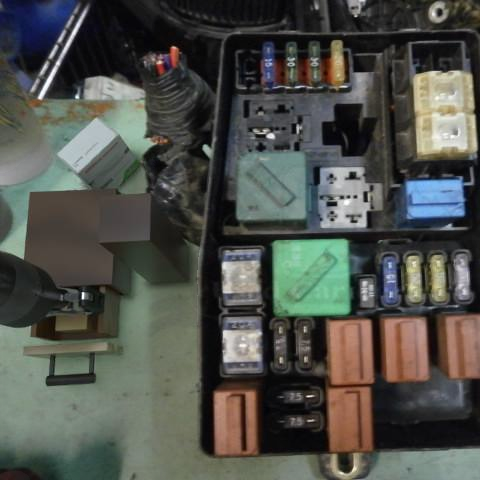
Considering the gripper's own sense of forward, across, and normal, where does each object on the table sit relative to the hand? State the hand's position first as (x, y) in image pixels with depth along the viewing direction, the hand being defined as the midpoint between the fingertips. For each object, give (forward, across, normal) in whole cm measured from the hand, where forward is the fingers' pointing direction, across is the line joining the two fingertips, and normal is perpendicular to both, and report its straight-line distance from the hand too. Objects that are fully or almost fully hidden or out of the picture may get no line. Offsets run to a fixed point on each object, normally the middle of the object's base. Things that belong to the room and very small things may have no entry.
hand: (64, 311), depth 75 cm
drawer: (+8, 0, -1) cm, 8 cm away
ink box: (+9, +3, +24) cm, 26 cm away
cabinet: (+9, 0, +11) cm, 14 cm away
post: (+9, +12, +8) cm, 17 cm away
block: (+7, 0, 0) cm, 7 cm away
